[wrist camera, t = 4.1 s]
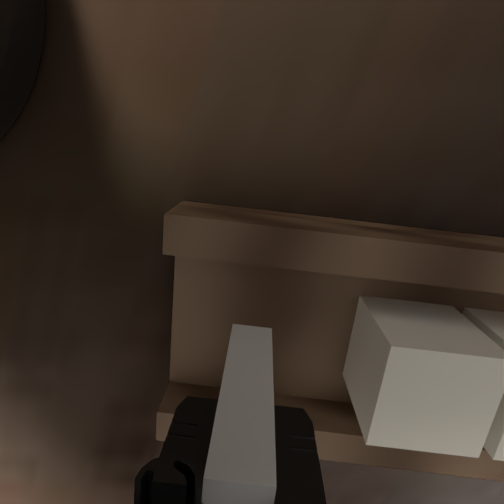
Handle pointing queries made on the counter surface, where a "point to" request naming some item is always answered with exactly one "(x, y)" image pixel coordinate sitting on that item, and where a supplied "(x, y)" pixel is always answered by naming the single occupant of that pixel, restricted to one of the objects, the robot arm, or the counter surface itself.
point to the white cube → (500, 434)
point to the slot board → (312, 309)
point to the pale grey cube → (422, 377)
